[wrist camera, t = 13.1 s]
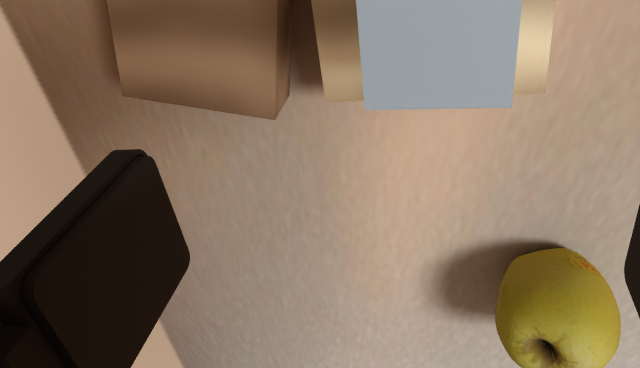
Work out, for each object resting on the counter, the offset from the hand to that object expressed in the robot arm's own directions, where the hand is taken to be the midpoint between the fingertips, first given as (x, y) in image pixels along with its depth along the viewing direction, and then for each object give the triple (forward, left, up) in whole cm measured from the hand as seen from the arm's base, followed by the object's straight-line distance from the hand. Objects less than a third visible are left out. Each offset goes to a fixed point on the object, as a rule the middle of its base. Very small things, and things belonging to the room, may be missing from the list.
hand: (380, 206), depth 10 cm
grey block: (+1, +1, -19) cm, 19 cm away
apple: (+23, +8, -23) cm, 33 cm away
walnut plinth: (+1, -13, -23) cm, 26 cm away
